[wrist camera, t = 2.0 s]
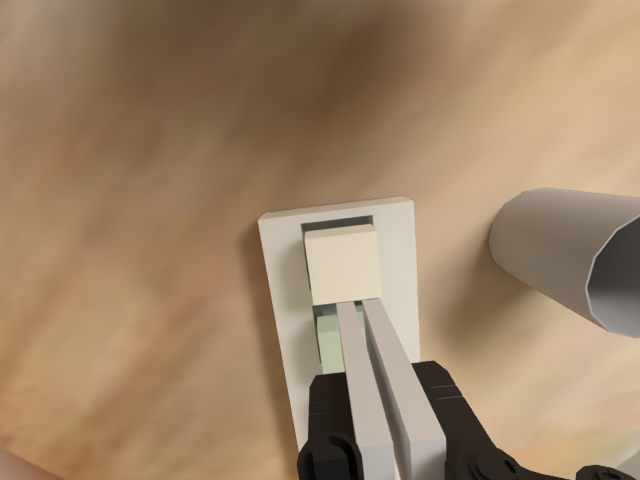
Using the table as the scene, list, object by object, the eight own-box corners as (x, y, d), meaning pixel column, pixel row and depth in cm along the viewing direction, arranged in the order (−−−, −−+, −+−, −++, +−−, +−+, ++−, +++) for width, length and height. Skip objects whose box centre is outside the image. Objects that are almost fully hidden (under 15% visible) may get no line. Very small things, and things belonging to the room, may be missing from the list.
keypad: (265, 212, 26) (257, 219, 22) (400, 195, 26) (413, 200, 22) (306, 457, 33) (305, 491, 30) (413, 445, 33) (424, 478, 29)
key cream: (306, 226, 23) (304, 239, 19) (366, 219, 23) (377, 230, 19) (313, 282, 25) (313, 305, 21) (371, 275, 24) (381, 297, 20)
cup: (474, 264, 28) (560, 320, 18) (510, 177, 25) (630, 187, 16) (556, 285, 28) (682, 349, 18) (597, 202, 26) (763, 225, 16)
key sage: (317, 306, 25) (317, 333, 21) (373, 299, 25) (384, 325, 21) (323, 354, 26) (325, 388, 22) (377, 348, 26) (387, 381, 22)
